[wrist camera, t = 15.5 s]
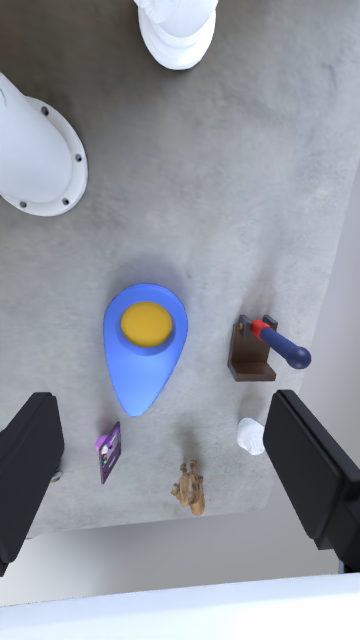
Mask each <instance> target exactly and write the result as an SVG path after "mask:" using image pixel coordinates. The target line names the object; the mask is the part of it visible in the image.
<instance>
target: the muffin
mask: <svg viewBox="0 0 360 640" xmlns="http://www.w3.org/2000/svg"><path fill="white" fill-rule="evenodd" d="M264 429H265V428H264V427H263V426H261V425H260V424H259V423H258V422H256V421H254V420H253V419H251V418H243V419H242V420H241V421H240V422H239V424H238V429H237V442H238V444H239V445H240V446H241V447H242V448H244V449H247V450H248V451H249V452H250V453H251V454H253V455H259V454H262V453H263V452H264V450H265V448H264V445H263V440H262V438H263V433H264Z"/></svg>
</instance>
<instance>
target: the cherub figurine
mask: <svg viewBox="0 0 360 640" xmlns="http://www.w3.org/2000/svg"><path fill="white" fill-rule="evenodd" d="M134 1H135V3H136V4H137V6H138V17H139V25H140V30H141V34H142V37H143V39H144V42H145V44H146V46H147V48H148V49H149V51H150V53H151V54H152V55H153V57H154V58H155V59H156V61H158V62H159V63H160V64H161V65H164V67H166V68H169V69H176V70H180V69H189V68H191V67H193V66H194V65H195V64H197V63H198V62H199V61H200V60H201V58H203V55H204V54H205V52H206V50H207V49H208V46H209V44H210V42H211V39H212V35H213V31H214V25H215V7H216V5H217V3H218V0H134Z"/></svg>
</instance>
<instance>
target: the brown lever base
mask: <svg viewBox="0 0 360 640" xmlns="http://www.w3.org/2000/svg"><path fill="white" fill-rule="evenodd" d="M263 322H264V323H266V324H267V325H269V326H271V327H272V328H273V330H274V331H276V329H277V325H278V323H277V322H276V321H275V320H273V319H272V318H271V317H270V316H264V319H263ZM251 324H252V322H251V321H250V320H249V319H248V318H247V317H246V316H245V315H240V318H239V325H238V324H234V325H233V332H232V339H231V345H230V352H229V359H228V368H229V369H230V371H231V373H232V375H233V377H234V379H235V381H236V382H241V381H275V378H276V373H275V372H274V371H273V369H272V368H271V367H270V366H269V364H268V363H267V359H268V354H269V350H270V346H269V345H268V344H267V343H265V342H264V341H261V340H260V339H259V338H257V337H256V336H255V335H254V334H253V333H252V332H251V331H250V329H251Z"/></svg>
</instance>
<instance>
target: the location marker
mask: <svg viewBox="0 0 360 640" xmlns="http://www.w3.org/2000/svg"><path fill="white" fill-rule="evenodd" d="M187 332H188V321H187V316H186V313H185V309H184V307H183V305H182V303H181V302H180V300H179V299H178V298H177V297H176V296H175V295H174V294H173V293H172V292H171V291H169V290H168V289H166V288H164V287H161V286H158V285H155V284H137V285H133V286H130V287H128V288H126V289H124V290H122V291H121V292H120V293H119V294H118V295H116V297H115V298H114V299H113V300H112V302H111V303H110V305H109V306H108V308H107V310H106V313H105V316H104V323H103V336H104V347H105V353H106V359H107V364H108V369H109V373H110V377H111V381H112V384H113V387H114V390H115V393H116V396H117V398H118V401H119V403H120V405H121V406H122V408H123V410H124V411H125V412H126V413H127V414H128V415H130V416H132V417H136V416H139V415H141V414H142V413H144V412H145V411H146V410H147V409H148V408H149V407H150V406H151V404H152V403H153V402H154V401H155V399H156V398H157V396H158V395H159V393H160V392H161V390H162V389H163V387H164V385H165V384H166V382H167V380H168V379H169V377H170V375H171V373H172V371H173V369H174V367H175V365H176V363H177V361H178V359H179V356H180V354H181V352H182V349H183V346H184V343H185V340H186V337H187Z"/></svg>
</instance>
